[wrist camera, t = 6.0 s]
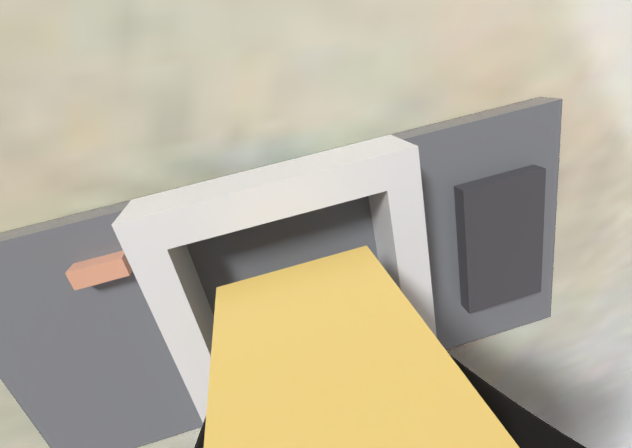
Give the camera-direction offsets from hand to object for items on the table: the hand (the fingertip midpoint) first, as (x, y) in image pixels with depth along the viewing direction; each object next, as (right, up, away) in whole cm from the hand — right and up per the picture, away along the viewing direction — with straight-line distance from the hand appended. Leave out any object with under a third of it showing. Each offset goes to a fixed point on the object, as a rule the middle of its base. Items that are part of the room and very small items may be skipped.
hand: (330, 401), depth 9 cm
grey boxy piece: (-1, +2, +5) cm, 6 cm away
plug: (0, +1, +2) cm, 2 cm away
